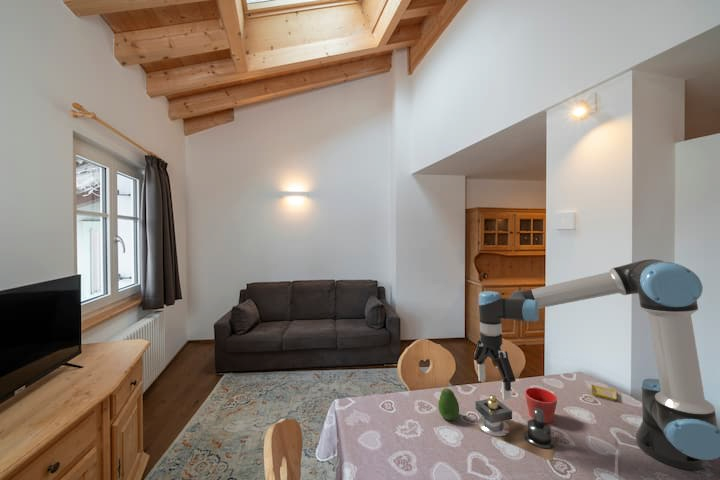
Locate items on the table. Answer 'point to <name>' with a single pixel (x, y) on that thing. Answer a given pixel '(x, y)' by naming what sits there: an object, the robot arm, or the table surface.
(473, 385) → the table surface
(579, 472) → the table surface
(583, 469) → the table surface
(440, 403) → the fruit
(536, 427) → the stand
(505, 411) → the grey slotted housing
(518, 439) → the board
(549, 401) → the flower pot
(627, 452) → the table surface
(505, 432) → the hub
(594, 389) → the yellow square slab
